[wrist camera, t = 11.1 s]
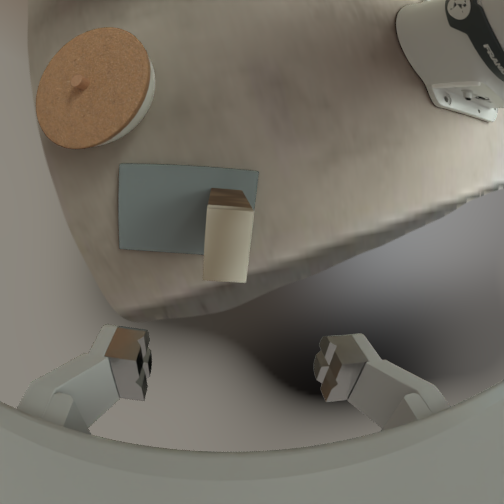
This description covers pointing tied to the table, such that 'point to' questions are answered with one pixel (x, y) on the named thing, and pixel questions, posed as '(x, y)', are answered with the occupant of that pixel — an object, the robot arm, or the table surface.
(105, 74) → the lidded jar
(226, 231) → the brown and white block
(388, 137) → the table surface
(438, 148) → the table surface
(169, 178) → the slate mat
